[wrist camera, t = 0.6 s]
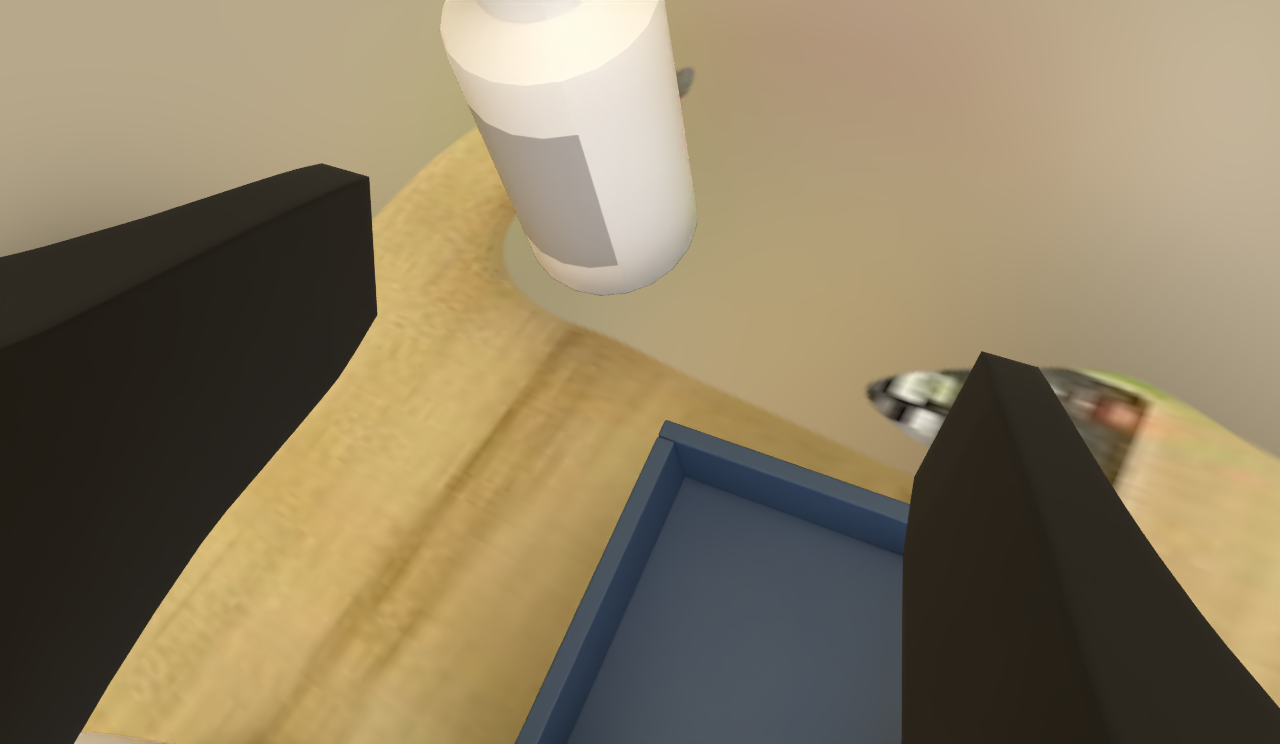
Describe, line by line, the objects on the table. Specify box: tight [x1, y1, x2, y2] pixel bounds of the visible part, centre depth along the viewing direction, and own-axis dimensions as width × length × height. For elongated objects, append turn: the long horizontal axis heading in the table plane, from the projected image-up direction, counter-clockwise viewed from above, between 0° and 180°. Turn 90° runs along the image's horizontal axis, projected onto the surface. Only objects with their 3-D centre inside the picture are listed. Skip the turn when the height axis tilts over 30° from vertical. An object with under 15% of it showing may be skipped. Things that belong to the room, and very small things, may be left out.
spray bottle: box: [440, 0, 697, 295], centre depth 28 cm, size 7×7×18 cm
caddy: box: [515, 420, 910, 744], centre depth 25 cm, size 13×11×4 cm
